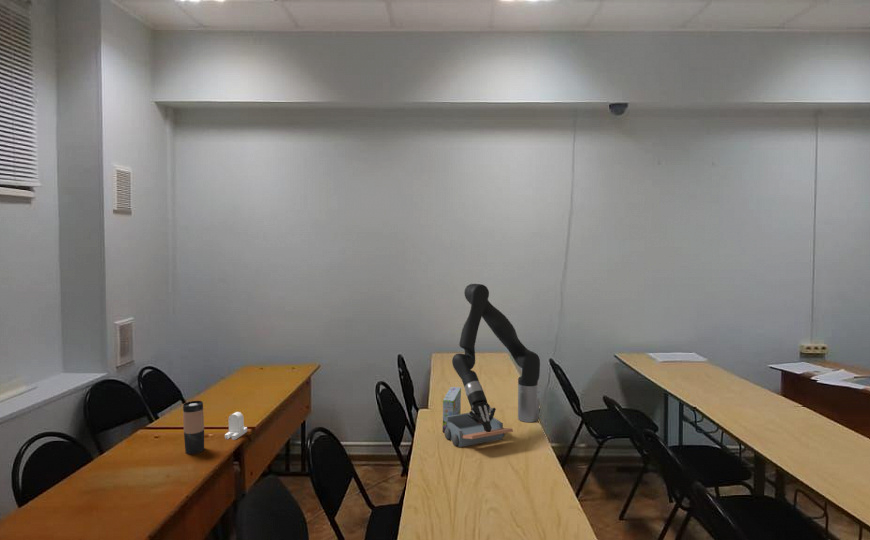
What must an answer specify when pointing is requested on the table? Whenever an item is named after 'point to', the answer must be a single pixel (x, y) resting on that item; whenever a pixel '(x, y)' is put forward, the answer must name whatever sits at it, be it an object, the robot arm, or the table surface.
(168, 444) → the table surface
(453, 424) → the trailer
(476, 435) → the tailgate
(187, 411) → the travel mug
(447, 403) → the snack box
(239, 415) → the cable organizer
